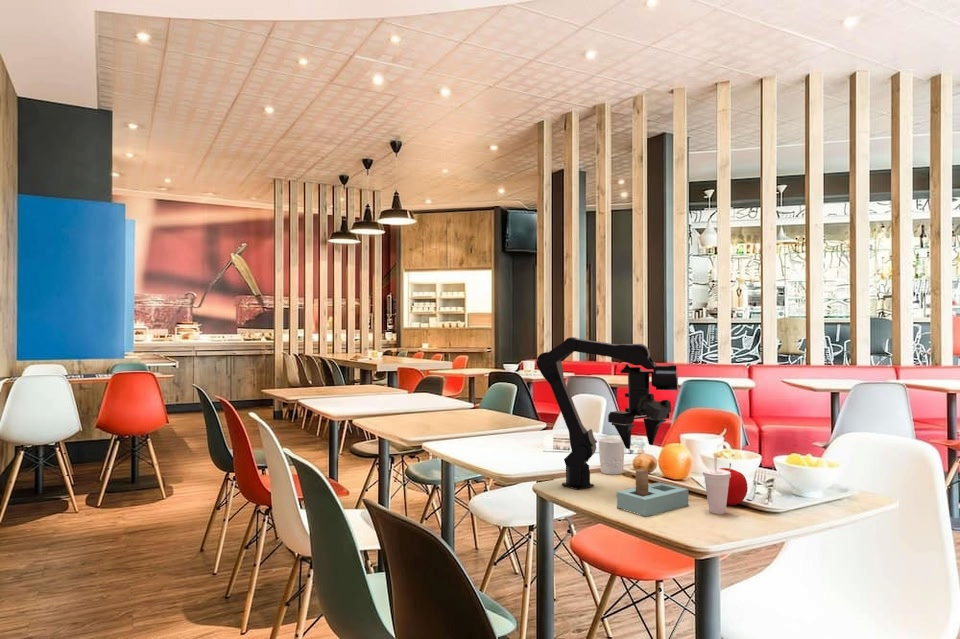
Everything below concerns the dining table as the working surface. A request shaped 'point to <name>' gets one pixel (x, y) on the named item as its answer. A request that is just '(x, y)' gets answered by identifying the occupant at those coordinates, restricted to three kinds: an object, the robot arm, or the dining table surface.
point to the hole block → (653, 499)
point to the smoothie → (717, 488)
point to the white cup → (611, 455)
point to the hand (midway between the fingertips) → (639, 446)
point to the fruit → (736, 487)
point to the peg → (642, 482)
